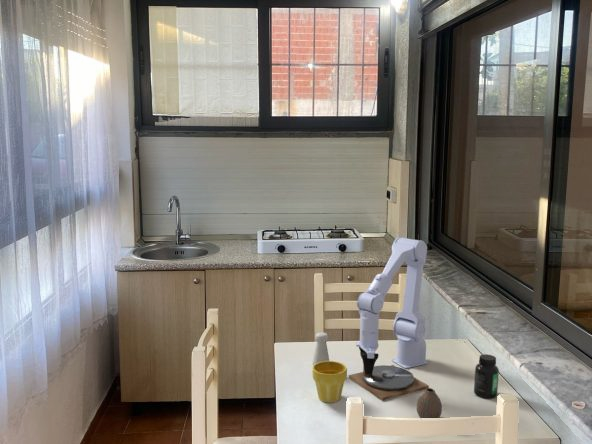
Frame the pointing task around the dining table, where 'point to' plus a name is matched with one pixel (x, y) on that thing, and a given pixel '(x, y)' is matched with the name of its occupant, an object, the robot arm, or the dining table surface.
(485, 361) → the supplement bottle
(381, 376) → the crank wheel
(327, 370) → the plant pot
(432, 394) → the vase
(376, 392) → the base
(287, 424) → the dining table surface
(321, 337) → the salt shaker
